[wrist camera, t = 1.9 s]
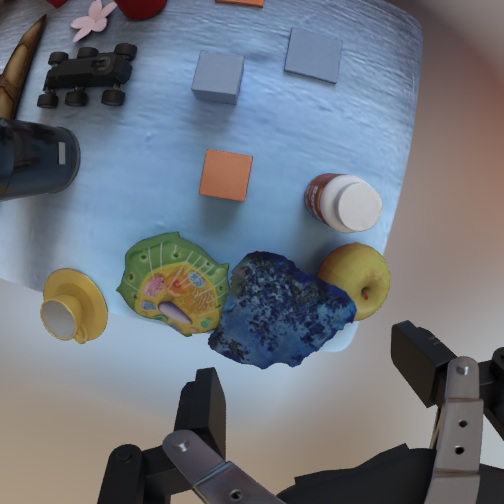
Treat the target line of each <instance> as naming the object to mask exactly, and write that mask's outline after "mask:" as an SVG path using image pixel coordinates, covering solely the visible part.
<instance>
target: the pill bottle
mask: <svg viewBox="0 0 504 504" xmlns="http://www.w3.org/2000/svg"><path fill="white" fill-rule="evenodd" d="M305 203H306V206H307V208H308V210H309V212H310V213H311V214H312V215H313V216H314V217H315V218H317V219H318V220H320V221H322V222H323V223H325V224H327V225H328V226H330V227H332V228H333V229H335V230H337V231H340V232H343V233H353V232H361V231H366V230H368V229H370V228H372V227H373V226H374V225H375V224H376V223H377V221H378V220H379V218H380V215H381V211H382V202H381V198H380V196H379V194H378V192H377V191H376V190H375V189H374V188H373V187H372V186H370V185H368V183H367V182H366V181H364V180H363V179H361V178H360V177H357V176H354V175H347V174H331V173H327V174H322V175H319V176H317V177H315V178H314V179H313V180H312V181H311V182H310V183H309V185H308V187H307V189H306V193H305Z"/></svg>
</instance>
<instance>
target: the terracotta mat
mask: <svg viewBox="0 0 504 504" xmlns="http://www.w3.org/2000/svg"><path fill="white" fill-rule="evenodd" d="M215 1H216V2H225V3H234V4H242V5H249V6H256V7H263V3H264V0H215Z"/></svg>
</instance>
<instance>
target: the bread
mask: <svg viewBox="0 0 504 504" xmlns="http://www.w3.org/2000/svg"><path fill="white" fill-rule="evenodd" d="M46 15H47V14H45V15H43V16H42V17H41V18H40V19H39V20H38V21H37V22H36V23H35V24H34V25H33V26H32V27H31V28H30V29H29V30H28V31H27V32H26V33H25V34H24V35H23V36H22V38H21V40H20V41H19V43H18V45H17V47H16V48H15V50H14V52H13V54H12V55H11V57H10V59H9V61H8V63H7V65H6V67H5V69H4V71H3V73H2V75H1V78H0V117H2V118H9V119H13V118H14V115H15V111H16V107H17V104H18V100H19V97H20V93H21V90H22V87H23V83H24V80H25V77H26V74H27V71H28V68H29V65H30V62H31V59H32V57H33V54H34V51H35V49H36V46H37V43H38V41H39V38H40V35H41V32H42V29H43V26H44V23H45V20H46Z"/></svg>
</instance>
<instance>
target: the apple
mask: <svg viewBox="0 0 504 504" xmlns="http://www.w3.org/2000/svg"><path fill="white" fill-rule="evenodd" d="M317 277H319V278H321V279H322V280H324V281H325V282H327V283H330V285H336V286H337V287H338V288H340V289H342V290H344V291H346V292H347V294H348V295H349V297H350V298H351V299H352V300H353V301H354V303H355V305H356V309H357V312H356V315H355V318H354V321H359V320H363V319H365V318H367V317H369V316H371V315H373V314H374V313H375V312H376V311H377V310H378V309H379V308H380V307H381V306H382V304H383V303H384V301H385V299H386V298H387V295H388V292H389V289H390V272H389V269H388V266H387V264H386V261H385V259H384V257H383V256H382V255H381V254H380V253H379V252H377V251H376V250H375V249H373V248H372V247H370V246H367V245H364V244H360V243H351V244H346V245H342V246H340V247H338V248H336V249H335V250H333V251H332V252H330V253H329V255H328V256H327V257H326V258H325V259H324V261H323V262H322V264H321V266H320V269H319V271H318V274H317Z"/></svg>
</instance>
